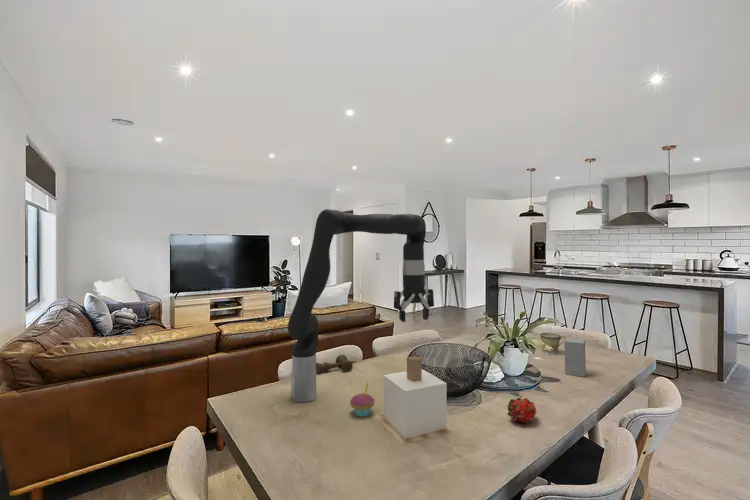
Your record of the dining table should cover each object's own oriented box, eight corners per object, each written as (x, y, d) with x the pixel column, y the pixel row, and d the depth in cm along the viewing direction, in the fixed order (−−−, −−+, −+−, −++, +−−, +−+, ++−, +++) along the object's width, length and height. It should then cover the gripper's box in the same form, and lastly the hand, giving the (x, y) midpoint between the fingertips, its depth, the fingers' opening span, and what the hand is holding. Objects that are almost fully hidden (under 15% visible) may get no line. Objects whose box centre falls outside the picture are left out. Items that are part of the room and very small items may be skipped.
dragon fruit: (505, 428, 127) (531, 425, 132) (523, 422, 121) (549, 419, 126) (497, 402, 131) (521, 400, 137) (514, 394, 125) (539, 393, 131)
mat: (402, 446, 113) (402, 444, 113) (374, 417, 131) (374, 416, 131) (457, 431, 121) (457, 430, 121) (423, 407, 140) (423, 405, 140)
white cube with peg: (405, 438, 116) (405, 368, 116) (383, 417, 130) (383, 354, 129) (446, 428, 123) (446, 361, 122) (421, 409, 136) (421, 349, 136)
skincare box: (585, 373, 174) (586, 339, 174) (584, 378, 168) (585, 342, 167) (565, 370, 178) (565, 336, 178) (563, 374, 172) (564, 340, 172)
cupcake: (375, 409, 137) (375, 377, 137) (373, 421, 129) (372, 386, 129) (352, 408, 138) (352, 376, 138) (348, 419, 130) (348, 385, 129)
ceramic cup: (543, 355, 201) (543, 336, 201) (538, 349, 211) (538, 332, 211) (569, 356, 199) (569, 337, 199) (562, 350, 209) (563, 333, 209)
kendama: (314, 371, 180) (353, 364, 188) (319, 378, 171) (360, 370, 179) (313, 359, 180) (353, 352, 188) (318, 365, 171) (360, 358, 179)
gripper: (399, 274, 122) (400, 324, 123) (437, 273, 128) (438, 320, 128) (390, 273, 129) (390, 320, 130) (426, 271, 135) (426, 316, 135)
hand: (414, 320), depth 129 cm, fingers open, 8 cm apart
